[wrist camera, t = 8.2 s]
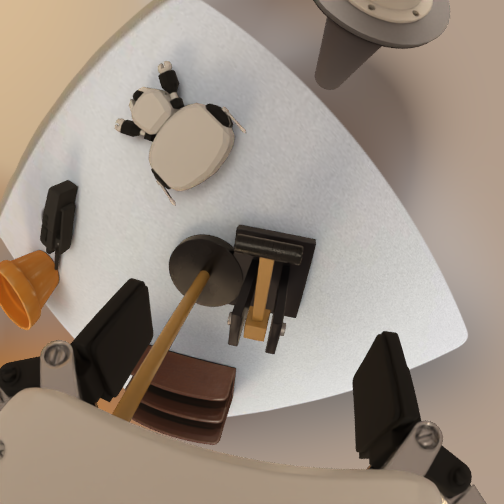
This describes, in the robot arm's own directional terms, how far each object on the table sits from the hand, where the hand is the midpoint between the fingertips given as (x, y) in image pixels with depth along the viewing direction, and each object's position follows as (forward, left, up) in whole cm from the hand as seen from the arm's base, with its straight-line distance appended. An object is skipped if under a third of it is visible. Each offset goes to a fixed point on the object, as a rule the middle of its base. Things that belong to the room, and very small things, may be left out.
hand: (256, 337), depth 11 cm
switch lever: (+7, +1, -14) cm, 16 cm away
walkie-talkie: (+22, -30, -23) cm, 44 cm away
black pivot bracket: (+12, +3, -25) cm, 28 cm away
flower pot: (+35, -39, -26) cm, 59 cm away
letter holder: (+41, -2, -26) cm, 49 cm away
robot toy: (-1, -15, -26) cm, 30 cm away
